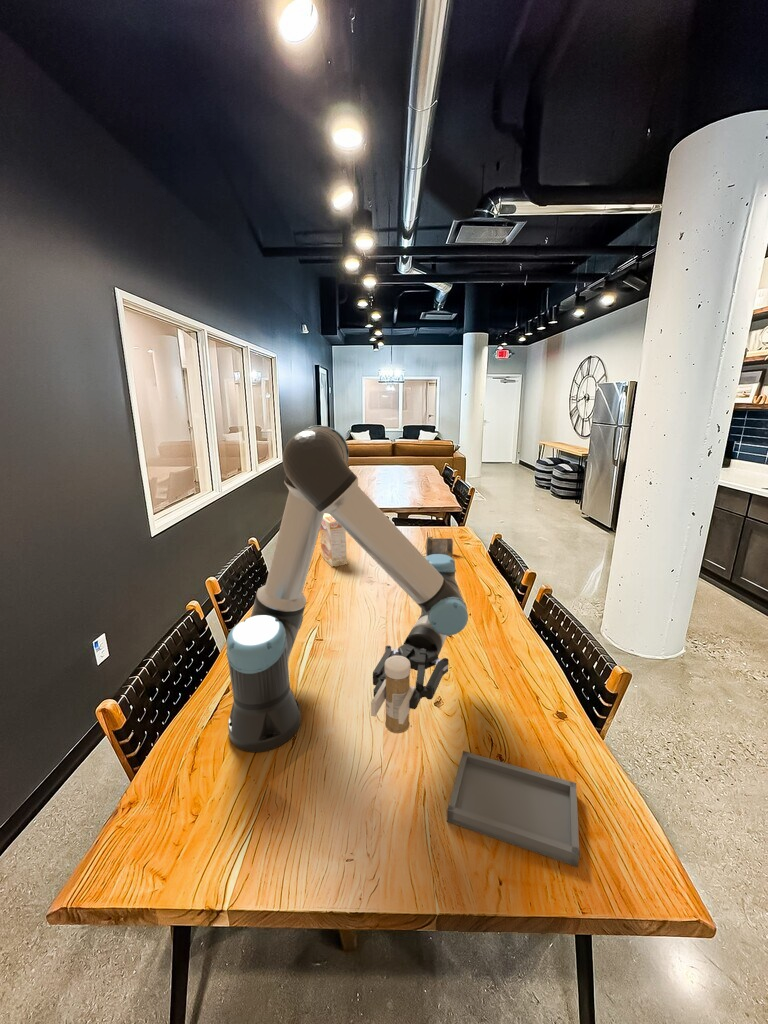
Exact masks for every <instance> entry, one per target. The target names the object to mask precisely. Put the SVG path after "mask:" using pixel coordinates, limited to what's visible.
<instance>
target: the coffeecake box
mask: <svg viewBox="0 0 768 1024" xmlns="http://www.w3.org/2000/svg"><path fill="white" fill-rule="evenodd" d="M319 536H320V537H319V538H320V551H321V555H322V556H321V557H322V558H323V559H324V560H325V561H326V562H327V564H329V565H330V567H331V568H334V567H333V566H335V567H338V566H339V565H340V566H345V564H346V565H347V564H348V557H347V532H346V531H345V530H344V529H343V528H342V526H341V525H340V524H339V523H338V522H337V521H336V520H335V519H334V518H333V517H332V516H331V515H330V514H328V513H324V516H323V520H322V523H321V527H320V530H319Z"/></svg>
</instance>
